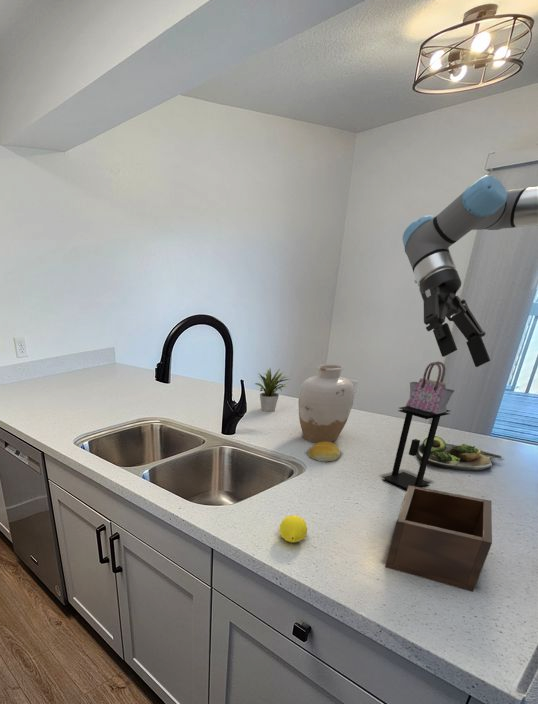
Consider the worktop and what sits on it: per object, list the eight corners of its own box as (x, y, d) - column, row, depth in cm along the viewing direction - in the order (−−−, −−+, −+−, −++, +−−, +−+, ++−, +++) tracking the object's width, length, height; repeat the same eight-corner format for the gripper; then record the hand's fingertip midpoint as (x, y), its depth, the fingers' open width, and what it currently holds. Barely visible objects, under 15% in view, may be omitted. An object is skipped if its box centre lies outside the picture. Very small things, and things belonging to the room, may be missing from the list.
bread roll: (305, 459, 126) (306, 446, 125) (313, 449, 133) (315, 437, 131) (335, 464, 122) (337, 451, 120) (342, 454, 128) (344, 441, 127)
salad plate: (493, 451, 124) (498, 436, 122) (508, 477, 110) (514, 460, 108) (414, 444, 132) (418, 429, 130) (418, 466, 118) (422, 451, 116)
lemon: (279, 529, 94) (282, 507, 92) (306, 533, 92) (309, 511, 90) (276, 547, 89) (279, 524, 86) (304, 551, 87) (308, 528, 84)
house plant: (275, 418, 161) (280, 374, 153) (242, 412, 169) (245, 370, 162) (292, 409, 170) (297, 366, 162) (260, 404, 178) (263, 363, 171)
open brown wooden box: (475, 545, 85) (491, 500, 81) (473, 591, 74) (492, 543, 69) (397, 526, 93) (408, 485, 88) (384, 566, 81) (396, 521, 76)
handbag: (377, 477, 114) (403, 360, 100) (398, 472, 116) (427, 356, 102) (413, 494, 105) (447, 368, 91) (435, 487, 107) (472, 363, 93)
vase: (284, 439, 142) (292, 368, 131) (308, 426, 151) (318, 359, 141) (332, 450, 131) (344, 374, 121) (355, 436, 140) (368, 364, 130)
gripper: (449, 302, 110) (477, 376, 104) (389, 277, 98) (416, 358, 92) (483, 281, 103) (514, 358, 97) (422, 251, 92) (453, 337, 86)
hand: (466, 358), depth 95 cm, fingers open, 13 cm apart
